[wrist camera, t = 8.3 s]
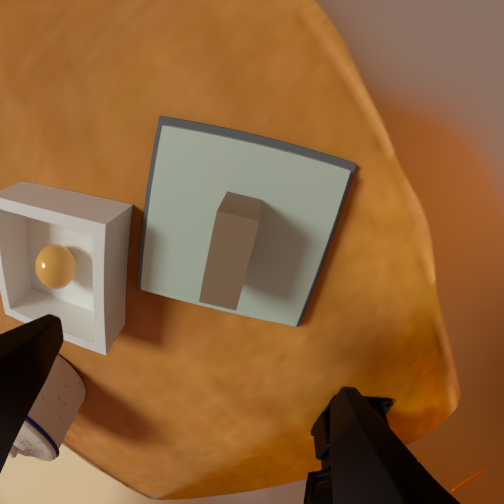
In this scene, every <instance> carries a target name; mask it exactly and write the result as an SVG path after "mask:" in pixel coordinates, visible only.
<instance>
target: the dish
mask: <svg viewBox="0 0 504 504" xmlns="http://www.w3.org/2000/svg"><path fill="white" fill-rule="evenodd" d="M132 206H133V205H132V204H127V203H123V202H119V201H114V200H110V199H105V198H100V197H96V196H91V195H87V194H82V193H78V192H73V191H68V190H64V189H59V188H54V187H49V186H45V185H40V184H35V183H30V182H25V181H23V182H20V183H18V184H15V185H13V186H10V187H8V188H5V189H3V190H1V191H0V291H1V296H2V301H3V306H4V310H5V314H7V315H9V316H11V317H13V318H15V319H17V320H19V321H22V322H24V323H28V322H30V321H33V320H35V319H38V318H40V317H42V316H45V315H47V314H52V315H55V316H57V317H59V318H60V319H61V323H62V330H63V336H64V339H63V340H66V341H68V342H71V343H73V344H76V345H79V346H81V347H84V348H87V349H89V350H92V351H95V352H98V353H100V354H103V355H107V354H108V352H109V350H110V348H111V347H112V345H113V343H114V342H115V340H116V338H117V337H118V335H119V333H120V332H121V330H122V328H123V327H124V325H125V307H126V280H127V262H128V248H129V236H130V225H131V215H132Z"/></svg>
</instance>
